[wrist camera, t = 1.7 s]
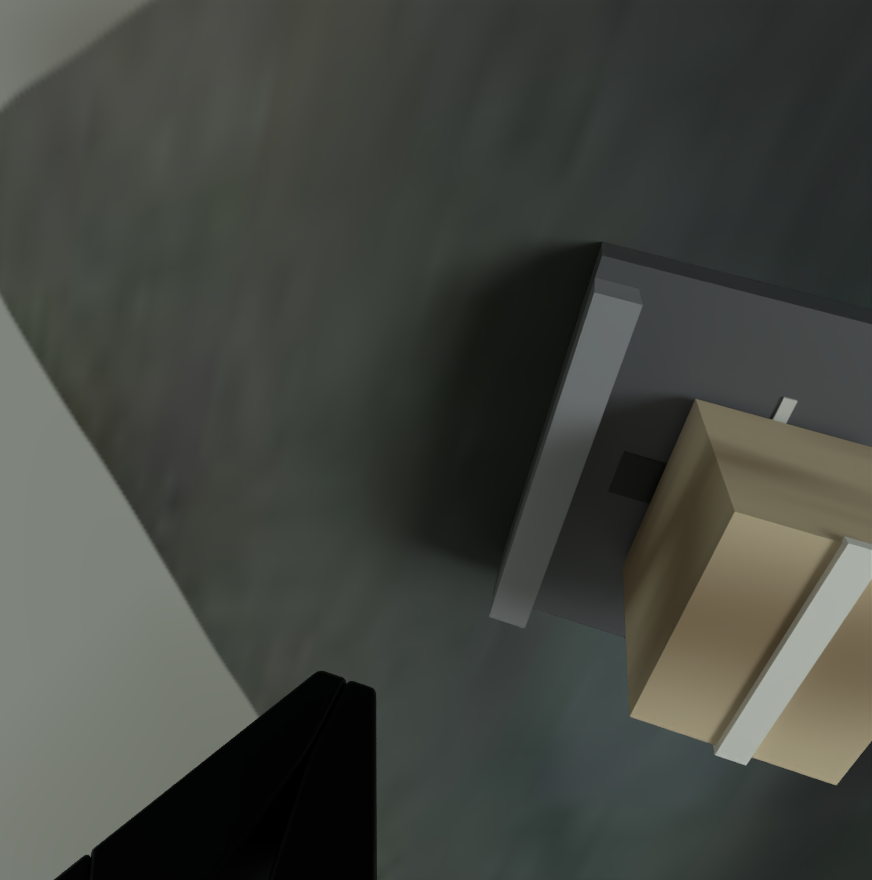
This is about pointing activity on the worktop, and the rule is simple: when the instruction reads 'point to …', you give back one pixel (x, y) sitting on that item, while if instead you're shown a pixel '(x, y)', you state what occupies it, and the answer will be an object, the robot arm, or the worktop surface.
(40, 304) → the worktop surface
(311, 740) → the robot arm
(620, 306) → the fader console
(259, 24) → the worktop surface
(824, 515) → the fader knob
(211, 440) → the worktop surface
